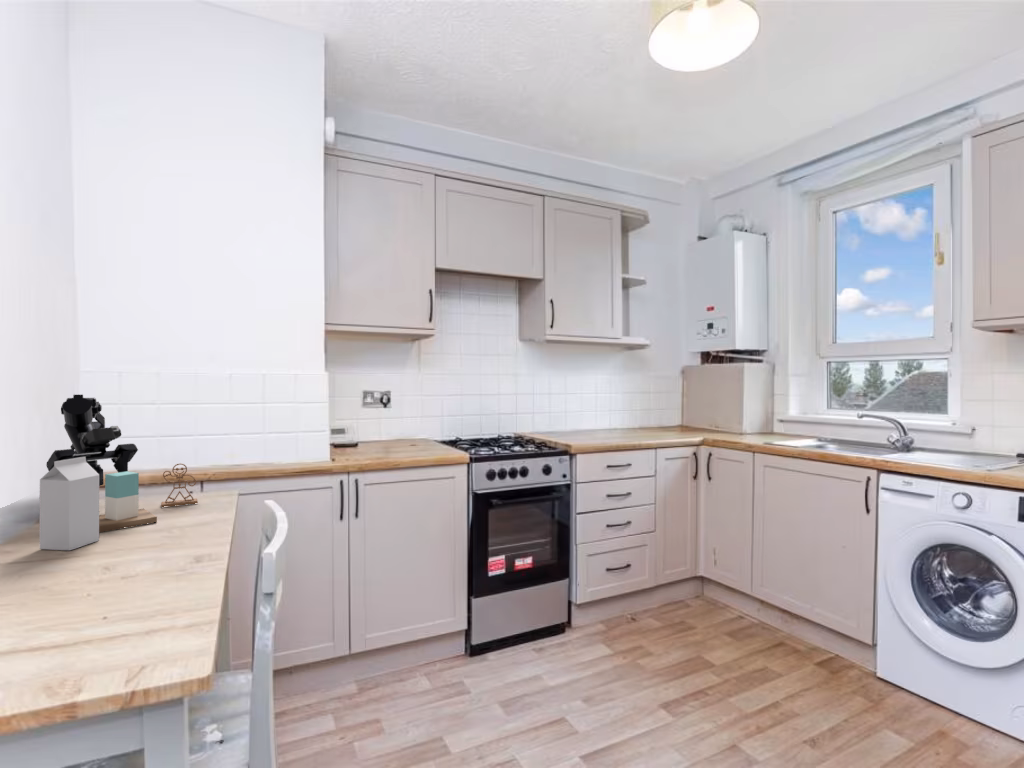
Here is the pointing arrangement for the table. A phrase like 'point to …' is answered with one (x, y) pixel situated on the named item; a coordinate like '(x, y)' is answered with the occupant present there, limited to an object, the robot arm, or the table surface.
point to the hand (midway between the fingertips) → (107, 481)
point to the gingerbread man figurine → (179, 502)
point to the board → (126, 521)
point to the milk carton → (69, 505)
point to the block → (121, 495)
